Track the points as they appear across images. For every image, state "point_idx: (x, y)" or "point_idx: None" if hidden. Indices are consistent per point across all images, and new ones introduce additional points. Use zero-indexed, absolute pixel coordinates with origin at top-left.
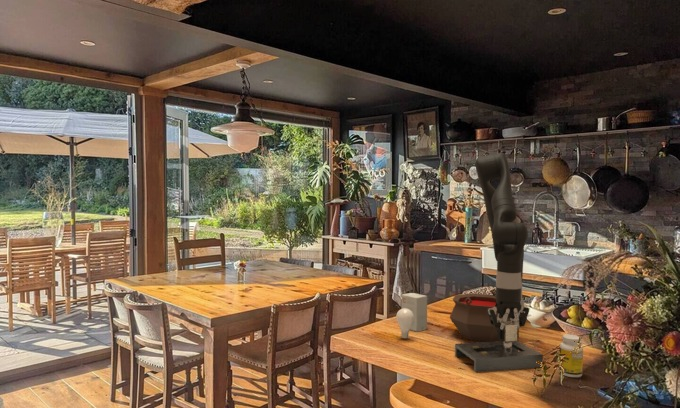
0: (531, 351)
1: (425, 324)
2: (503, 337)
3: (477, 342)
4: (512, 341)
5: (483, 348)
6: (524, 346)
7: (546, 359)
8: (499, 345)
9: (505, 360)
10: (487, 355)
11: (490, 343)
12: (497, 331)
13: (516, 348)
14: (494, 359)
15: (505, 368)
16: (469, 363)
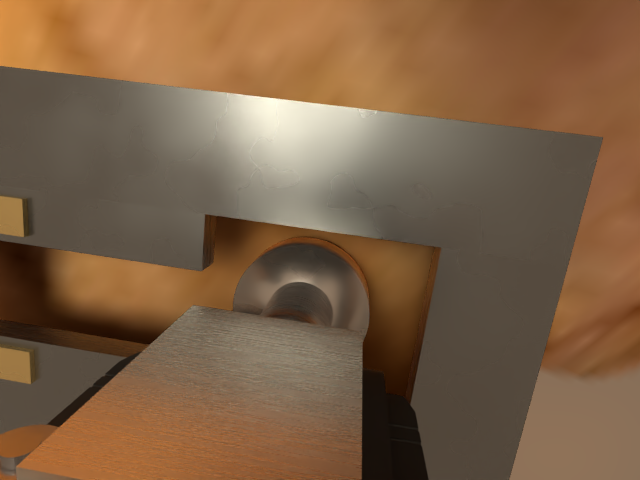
0: (450, 476)
1: None
2: None
3: (89, 77)
4: (510, 166)
5: (73, 249)
6: (502, 350)
7: (636, 365)
8: (280, 222)
9: None
10: (11, 420)
11: (211, 153)
12: (68, 417)
13: (424, 304)
14: None
15: None
16: (16, 244)
